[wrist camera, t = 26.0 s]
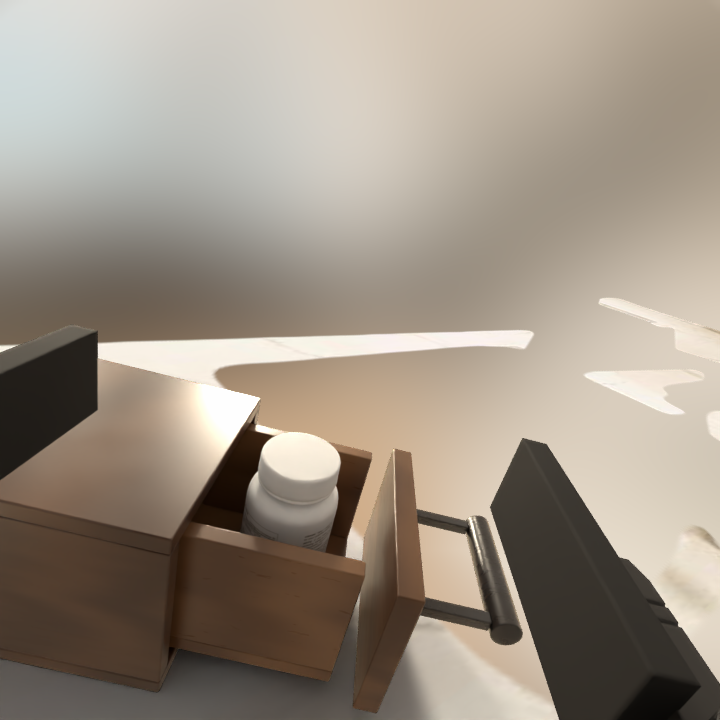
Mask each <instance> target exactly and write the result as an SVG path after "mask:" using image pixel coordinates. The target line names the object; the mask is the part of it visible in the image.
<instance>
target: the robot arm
mask: <svg viewBox="0 0 720 720" xmlns="http://www.w3.org/2000/svg"><path fill="white" fill-rule="evenodd" d="M97 333H98V331H96V330H92V329H89V328H84V327H80V326H77V325H69V326H67V327H64V328H61V329H59V330H57V331H54V332H51V333H49V334H46V335H44V336H41V337H39V338H36V339H33V340H31V341H28V342H26V343H24V344H21V345H18V346H16V347H13V348H11V349H8V350H6V351H3V352H0V480H1V479H3V478H4V477H6V476H7V475H8V474H10V473H11V472H13V471H14V470H15V469H17V468H18V467H19V466H21V465H22V464H24V463H25V462H26V461H28V460H29V459H31V458H32V457H33V456H35V455H36V454H38V453H39V452H40V451H42V450H43V449H44V448H46V447H47V446H49V445H50V444H51V443H53V442H54V441H56V440H57V439H58V438H60V437H61V436H62V435H64V434H65V433H67V432H68V431H69V430H71V429H72V428H74V427H75V426H76V425H78V424H79V423H80V422H82V421H83V420H85V419H86V418H87V417H89V416H90V415H92V414H93V413H94V412H96V411H97V410H98V334H97ZM490 508H491V512H492V515H493V518H494V521H495V524H496V527H497V530H498V533H499V536H500V539H501V542H502V545H503V548H504V551H505V554H506V557H507V561H508V564H509V567H510V570H511V573H512V576H513V579H514V582H515V585H516V588H517V591H518V594H519V598H520V600H521V604H522V607H523V610H524V613H525V616H526V619H527V622H528V625H529V628H530V631H531V634H532V638H533V640H534V644H535V647H536V650H537V652H538V656H539V659H540V662H541V665H542V668H543V671H544V674H545V677H546V681H547V684H548V687H549V690H550V693H551V696H552V699H553V702H554V705H555V708H556V711H557V714H558V717H559V720H720V683H719V682H718V681H717V679H716V678H715V676H714V675H713V673H712V672H711V671H710V669H709V667H708V666H707V664H706V663H705V661H704V660H703V658H702V657H701V656H700V654H699V653H698V651H697V650H696V648H695V647H694V645H693V644H692V642H691V641H690V639H689V638H688V636H687V635H686V634H685V632H684V631H683V629H682V628H680V627H678V622H677V620H676V619H675V617H674V616H673V614H672V613H671V611H670V610H669V609H668V608H666V607H665V603H664V601H663V600H662V598H661V597H660V595H659V594H658V592H657V591H656V589H655V588H654V587H653V585H652V584H651V582H650V581H649V580H648V579H647V578H646V577H645V576H644V575H643V574H642V573H641V572H640V571H639V570H638V569H637V568H636V567H635V566H634V565H633V564H632V563H631V562H630V561H629V560H627V559H623V558H619V557H618V555H617V554H616V552H615V550H614V549H613V547H612V546H611V544H610V543H609V541H608V539H607V538H606V536H605V535H604V533H603V532H602V530H601V528H600V527H599V525H598V524H597V522H596V521H595V519H594V518H593V516H592V514H591V513H590V511H589V510H588V508H587V507H586V505H585V503H584V502H583V500H582V499H581V497H580V496H579V494H578V493H577V491H576V489H575V488H574V486H573V485H572V483H571V482H570V480H569V478H568V477H567V476H566V474H565V472H564V471H563V469H562V468H561V466H560V464H559V463H558V461H557V460H556V458H555V457H554V455H553V453H552V452H551V451H550V449H549V447H548V446H547V444H543V443H540V442H536V441H532V440H528V439H524V438H522V440H521V442H520V445H519V447H518V449H517V451H516V453H515V455H514V458H513V459H512V462H511V464H510V466H509V468H508V470H507V472H506V474H505V477H504V478H503V481H502V483H501V485H500V487H499V489H498V491H497V493H496V495H495V498H494V500H493V502H492V504H491V506H490Z"/></svg>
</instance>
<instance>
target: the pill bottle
mask: <svg viewBox="0 0 720 720" xmlns="http://www.w3.org/2000/svg"><path fill="white" fill-rule="evenodd" d="M340 465H341V460H340V456H339V454H338V452H337V450H336V449H335V448H334V447H333V446H332V445H331V444H330V443H328V442H327V441H325V440H323V439H321V438H319V437H317V436H314V435H311V434H306V433H299V432H298V433H297V432H291V433H283V434H280V435H277V436H275V437H273V438H271V439H270V440H268V441H267V442H266V444H265V445H264V447H263V449H262V452H261V457H260V461H259V466H258V472H257V473H256V474H255V475H254V476H253V478H252V480H251V482H250V484H249V487H248V490H247V495H246V501H245V507H244V513H243V519H242V525H241V530H240V533H243V534H247V535H252V536H256V537H260V538H265V539H269V540H273V541H277V542H282V543H286V544H290V545H295V546H299V547H303V548H308V549H312V550H316V551H320V552H325V551H326V547H327V544H328V540H329V537H330V533H331V529H332V526H333V522H334V518H335V514H336V510H337V506H338V491H337V487H336V484H337V480H338V475H339V470H340Z"/></svg>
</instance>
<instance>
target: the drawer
mask: <svg viewBox="0 0 720 720" xmlns="http://www.w3.org/2000/svg"><path fill="white" fill-rule="evenodd" d="M283 433H289V432H285V431H281V430H277V429H272V428H269V427H265V426H261V425H256V424H252V423H250V424H249V426H248V428H247V429H246V431H245V433H244V434H243V436H242V438H241V439H240V441H239V442H238V444H237V446H236V447H235V449H234V451H233V452H232V454H231V456H230V457H229V459H228V461H227V462H226V464H225V466H224V467H223V469H222V471H221V472H220V474H219V476H218V477H217V479H216V480H215V482H214V484H213V485H212V487H211V489H210V490H209V492H208V494H207V495H206V497H205V499H204V500H203V502H202V504H201V505H200V507H199V509H198V510H197V512H196V514H195V515H194V517H193V518H192V520H191V522H190V523H189V525H188V527H187V528H186V530H185V532H184V533H183V535H182V537H181V538H180V540H179V551H178V561H177V571H176V581H175V591H174V602H173V612H172V622H171V632H170V642H169V647H174V648H178V649H183V650H187V651H192V652H196V653H201V654H205V655H210V656H214V657H219V658H223V659H228V660H232V661H237V662H241V663H246V664H250V665H255V666H259V667H264V668H268V669H273V670H277V671H282V672H286V673H291V674H295V675H300V676H304V677H309V678H313V679H318V680H322V681H327V682H329V680H330V677H331V674H332V670H333V668H334V665H335V662H336V659H337V656H338V653H339V651H340V648H341V645H342V642H343V639H344V636H345V633H346V630H347V628H348V625H349V622H350V619H351V616H352V613H353V610H354V607H355V604H356V602H357V599H358V596H359V593H360V605H359V620H358V635H357V650H356V665H355V680H354V695H353V708H355V709H359V710H364V711H369V712H373V713H377V711H378V709H379V707H380V705H381V702H382V700H383V698H384V696H385V693H386V691H387V689H388V686H389V684H390V682H391V680H392V677H393V675H394V673H395V671H396V668H397V666H398V664H399V662H400V659H401V657H402V655H403V653H404V650H405V648H406V646H407V643H408V641H409V639H410V637H411V634H412V632H413V630H414V628H415V625H416V623H417V621H418V619H419V616H420V615H421V616H425V617H430V618H434V619H438V620H443V621H447V622H451V623H456V624H460V625H465V626H469V627H474V628H478V629H482V630H486V631H487V630H488V629H489V633H490V636H491V639H492V640H493V641H494V642H495V643H498V644H500V645H512V644H515V643H517V642H518V641H520V639H521V638H522V635H523V632H522V629H521V626H520V622H519V619H518V616H517V613H516V610H515V606H514V603H513V600H512V597H511V594H510V590H509V587H508V584H507V581H506V578H505V575H504V571H503V568H502V565H501V562H500V559H499V555H498V552H497V549H496V546H495V543H494V540H493V536H492V533H491V530H490V527H489V524H488V521H487V520H486V519H485V518H484V517H482V516H472V517H470V518H468V519H467V520H466V521H464V520H460V519H456V518H452V517H448V516H443V515H439V514H435V513H431V512H426V511H423V510H418V509H416V499H415V489H414V479H413V468H412V458H411V453H410V452H406V451H402V450H398V449H393V451H392V454H391V457H390V461H389V463H388V466H387V469H386V472H385V475H384V478H383V481H382V484H381V487H380V490H379V494H378V496H377V500H376V503H375V506H374V509H373V512H372V515H371V518H370V521H369V524H368V527H367V530H366V533H365V536H364V544H363V559H362V561H359V560H355V559H350V558H346V557H345V556H346V547H347V538H348V535H349V532H350V528H351V525H352V522H353V519H354V515H355V512H356V509H357V506H358V502H359V499H360V496H361V493H362V490H363V486H364V483H365V480H366V477H367V473H368V470H369V467H370V463H371V460H372V453H371V452H367V451H364V450H359V449H355V448H351V447H347V446H343V445H339V444H335V443H330V442H328V443H330V444H331V445H332V446H333V447H334V448H335V449H336V450H337V452H338V454H339V456H340V460H341V465H340V470H339V475H338V480H337V484H336V487H337V491H338V506H337V510H336V514H335V518H334V522H333V526H332V529H331V533H330V537H329V540H328V544H327V547H326V551H325V552H320V551H316V550H312V549H308V548H303V547H299V546H295V545H290V544H286V543H282V542H277V541H273V540H269V539H265V538H260V537H256V536H252V535H247V534H243V533H240V530H241V525H242V519H243V513H244V507H245V501H246V495H247V490H248V487H249V484H250V482H251V480H252V478H253V476H254V475H255V474H256V473H257V472H258V466H259V461H260V457H261V452H262V449H263V447H264V445H265V444H266V442H267V441H268V440H270V439H271V438H273V437H275V436H277V435H280V434H283ZM418 523H419V524H423V525H428V526H432V527H436V528H440V529H444V530H449V531H453V532H457V533H461V534H466V536H467V539H468V544H469V549H470V553H471V556H472V561H473V565H474V570H475V574H476V578H477V582H478V586H479V591H480V595H481V599H482V603H483V607H484V611H482V610H478V609H474V608H469V607H465V606H461V605H456V604H452V603H447V602H443V601H439V600H434V599H430V598H426V597H425V592H424V582H423V571H422V561H421V552H420V540H419V530H418Z"/></svg>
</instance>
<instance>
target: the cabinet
mask: <svg viewBox="0 0 720 720" xmlns="http://www.w3.org/2000/svg"><path fill="white" fill-rule="evenodd" d="M259 407H260V398H257V397H252V396H249V395H245V394H241V393H237V392H232V391H228V390H224V389H220V388H216V387H212V386H208V385H204V384H200V383H196V382H192V381H188V380H184V379H179V378H175V377H171V376H167V375H163V374H159V373H155V372H151V371H147V370H143V369H139V368H135V367H131V366H126V365H122V364H118V363H114V362H110V361H106V360H102V359H98V410H97V411H96V412H94V413H93V414H92V415H90V416H89V417H87V418H86V419H85V420H83V421H82V422H80V423H79V424H78V425H76V426H75V427H74V428H72V429H71V430H69V431H68V432H67V433H65V434H64V435H62V436H61V437H60V438H58V439H57V440H56V441H54V442H53V443H51V444H50V445H49V446H47V447H46V448H44V449H43V450H42V451H40V452H39V453H38V454H36V455H35V456H33V457H32V458H31V459H29V460H28V461H26V462H25V463H24V464H22V465H21V466H19V467H18V468H17V469H15V470H14V471H13V472H11V473H10V474H8V475H7V476H6V477H4V478H3V479H1V480H0V658H2V659H6V660H11V661H16V662H20V663H25V664H29V665H34V666H38V667H43V668H48V669H52V670H57V671H61V672H66V673H71V674H75V675H80V676H84V677H89V678H93V679H98V680H103V681H107V682H112V683H116V684H121V685H126V686H130V687H135V688H139V689H144V690H148V691H153V692H158V691H159V690H160V688H161V686H162V684H163V681H164V679H165V677H166V675H167V673H168V671H169V668H170V666H171V664H172V662H173V660H174V658H175V655H176V653H177V651H178V648H174V647H169V642H170V632H171V622H172V612H173V602H174V591H175V581H176V571H177V561H178V551H179V540H180V538H181V537H182V535H183V533H184V532H185V530H186V528H187V527H188V525H189V523H190V522H191V520H192V518H193V517H194V515H195V514H196V512H197V510H198V509H199V507H200V505H201V504H202V502H203V500H204V499H205V497H206V495H207V494H208V492H209V490H210V489H211V487H212V485H213V484H214V482H215V480H216V479H217V477H218V476H219V474H220V472H221V471H222V469H223V467H224V466H225V464H226V462H227V461H228V459H229V457H230V456H231V454H232V452H233V451H234V449H235V447H236V446H237V444H238V442H239V441H240V439H241V438H242V436H243V434H244V433H245V431H246V429H247V428H248V426H249V424H250V423H252V424H256V425H257V419H258V413H259Z"/></svg>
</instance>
